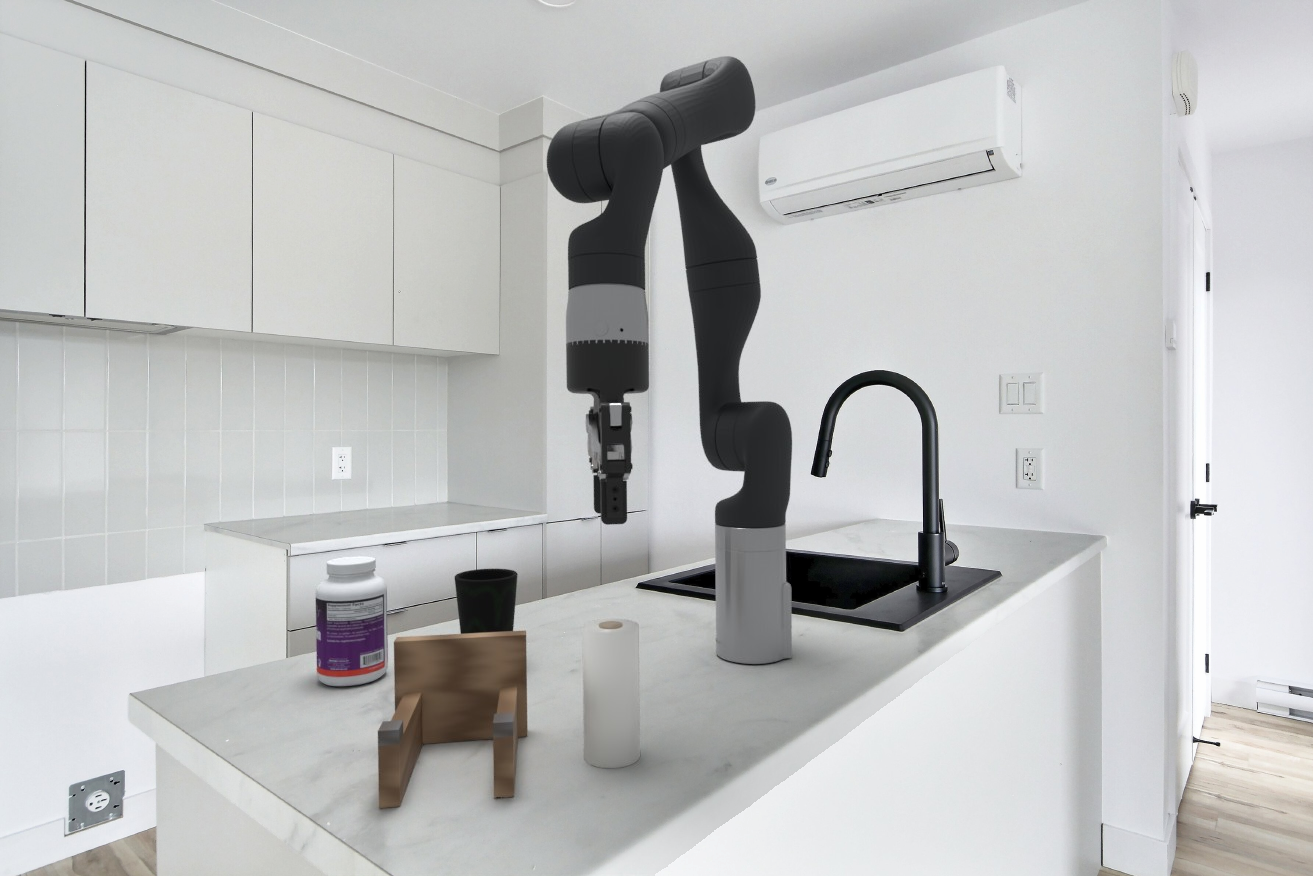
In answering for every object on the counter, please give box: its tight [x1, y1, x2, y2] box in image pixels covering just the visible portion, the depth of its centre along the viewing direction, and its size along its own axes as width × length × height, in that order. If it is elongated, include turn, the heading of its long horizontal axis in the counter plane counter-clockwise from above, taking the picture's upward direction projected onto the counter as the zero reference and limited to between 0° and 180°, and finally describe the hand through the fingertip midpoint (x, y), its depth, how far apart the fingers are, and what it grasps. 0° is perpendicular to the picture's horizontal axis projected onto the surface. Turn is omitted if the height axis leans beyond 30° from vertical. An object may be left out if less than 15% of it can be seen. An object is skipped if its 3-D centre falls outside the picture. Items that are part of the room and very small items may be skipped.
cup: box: [454, 568, 518, 634], centre depth 94 cm, size 8×8×12 cm
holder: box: [377, 630, 528, 809], centre depth 68 cm, size 12×14×10 cm
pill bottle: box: [315, 555, 389, 687], centre depth 91 cm, size 8×8×14 cm
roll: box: [581, 618, 641, 769], centre depth 69 cm, size 5×5×12 cm
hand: (609, 518), depth 69 cm, fingers open, 8 cm apart
